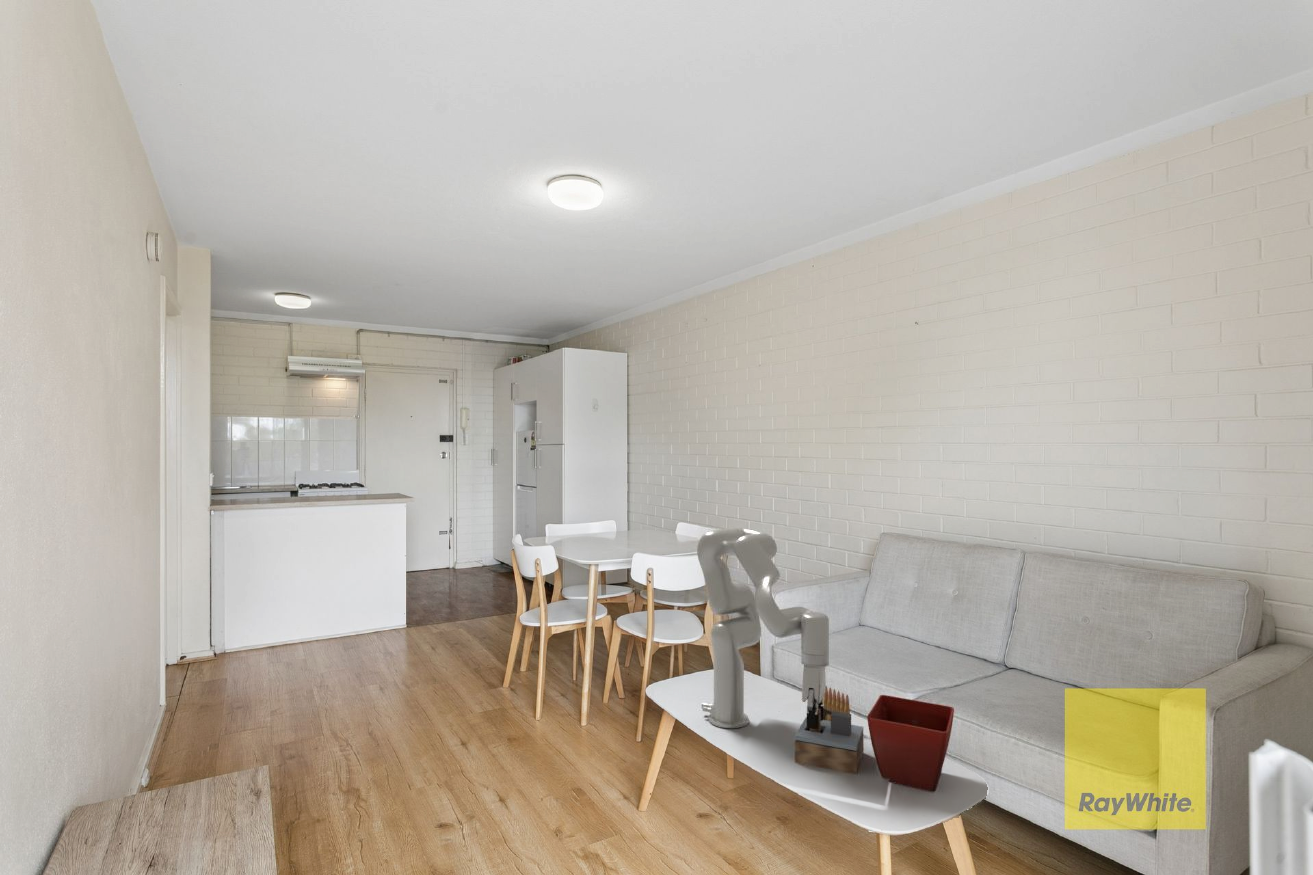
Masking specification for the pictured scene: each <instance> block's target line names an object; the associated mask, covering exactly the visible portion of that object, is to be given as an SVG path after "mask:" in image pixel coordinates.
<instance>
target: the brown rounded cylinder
mask: <svg viewBox="0 0 1313 875" xmlns="http://www.w3.org/2000/svg"><path fill="white" fill-rule="evenodd" d="M818 714H819V729H818V730H816V729H811V728H810V731H812V732H818V733H821V709H820V708H818Z"/></svg>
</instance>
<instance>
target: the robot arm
mask: <svg viewBox="0 0 1313 875" xmlns="http://www.w3.org/2000/svg"><path fill="white" fill-rule="evenodd" d="M696 547H697V548H696V550H697V551H696V553H697V555H696V556H697V558H698V562H699V565H700V568H701V570H702V574H703V580H704V585H705V589H706V594H707V600H708V605H709V607H710V611H711V612H712V613H713V614H714V615H716V616H728V615H733V614H734V615H735V617H732V618H726V619H722V620H720V621H717V622H716V623H715V624H713V626H712V628H711V630H710V642H711V647H712V653H713V654H712V655H713V656H712V658H713V703H708V702H702V703H701V710H702V712H706V713H709V715H708V721H709V722H710V724H712V725H713V726H716V727H719V728H724V729H737V728H738V729H739V728H742V727H745V726H747V725H748V724H749V721H750V720H749V719H750V717H749V716H748V715H747V714H746V713H744V712H745V710H744V709H745V706H744V705H745V691H744V690H745V682H744V681H745V668H744V667H745V665H744V659H743V657H742V655H741V653H740V651H739V650H740V649H744V648H747V647H751V646H754V645H756V644H757V643H759V641H760V640H761V637H762V626H761V622H760V619H761V621H762V623H763V624H764V626H765V628H766V630H768V631H769V633H770V634H772V635H773V637H775V638H779V639H780V638H781V639H782V638H788V637H791V636H795V635H797V636H798V635H801V636H800V639H801V640H800V642H801V643H800V645H801V646H800V649H801V653H800V654H801V656H800V657H801V659H800V660H801V661H800V663H801V665H803V671H802V672H803V673H802V685H801V686H802V688H801V700H802V702H803V703H806V702H807V705H806V717H807V728H811V729H816V730H818V729H819V714H818V708H820V709H821V721H823V699H824V695H825V689H826V686H827V684H826V683H827V681H826V678H827V677H826V674H827V673H826V668H827V667H828V666H830V619H829V616H828V615H827V614H825V613H824V612H819V611H812V610H810V609H808V608H806V607H803V606H793V607H787V608H783V609H781V608H780V607H779V606H778V605H777V603H776V601H775V600H774V596H773V594H772V587H773V586H774V585H775V584H776V583H777V582H778V580H779V579H780V577H781V573H780V571H779V569H778V568H777V566H776V565H775V564H774V562H773V558H774V557H775V556H776V555H777V552H778V551H777V549H778V548H777V543H776V541H775V539H774V538H773V537H772V535H770V534H768V533H765V532H760V531H755V530H751V529H746V528H742V527H741V528H740V527H739V528H724V529H723V528H722V529H713V530H710V531H708V532H706V533H704V534H702V536H700V538H699V540H698V543H697V546H696ZM734 555H735V556H736V558H737V560H738V561H739V563H740V564H741V567H743V570H744V571H745V572H746V574H747V576H748V578H749V580H750V581H751V582H752V584H753V585H754V587H755V589H754V590H755V591H754V593H753V591H752V589H751V587H749V585H747V584H746V583H745V582H738V581H737V582H733V581H732V577H731V572H730V570H729V567H728V565H727V563H726V562H725V561H724V560H723V559H722V557H724V556H734Z"/></svg>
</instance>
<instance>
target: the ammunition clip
mask: <svg viewBox="0 0 1313 875" xmlns="http://www.w3.org/2000/svg"><path fill="white" fill-rule="evenodd" d="M832 711H836V712H843V713H849V714H851V709H850V698H849V695H848V694H846V695H845V694H844V692H841V694H840V690H838V691H837V692H836V689H835V688H834V689H833V690H832V688H831V687H829V688H828V686H827V685H826V689H825V695H824V697H823V720H826V721H831V713H832Z"/></svg>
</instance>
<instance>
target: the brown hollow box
mask: <svg viewBox="0 0 1313 875" xmlns="http://www.w3.org/2000/svg"><path fill="white" fill-rule="evenodd" d="M806 731H810V728H808V729H807V730H806ZM823 732H824V731H823V730H821V733H823ZM864 745H865V744H864V733H863V734H862V737H861V739H860V742H859V745H858V748H857V751H854V750H849V749H843V748H838V747H832V746H827V745H821V744H816V743H810V742H805V741H799V740H794V757H795V758H794V763H796V764H800V765H807V766H812V767H815V768H819V769H820V768H821V769H826V770H831V771H837V772H841V773H847V774H852V775H856V776H857V774H858V771H859V767H860V766H861V763H862V762H861V761H862V760H863V755H864V749H865V748H864Z"/></svg>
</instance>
